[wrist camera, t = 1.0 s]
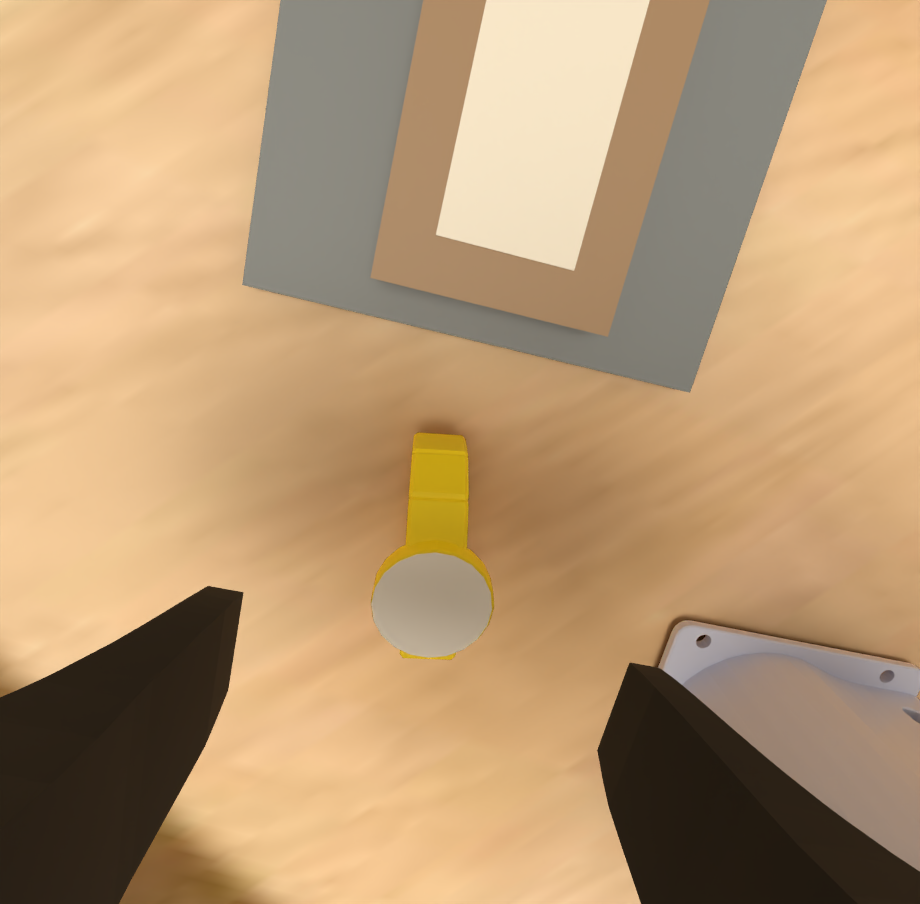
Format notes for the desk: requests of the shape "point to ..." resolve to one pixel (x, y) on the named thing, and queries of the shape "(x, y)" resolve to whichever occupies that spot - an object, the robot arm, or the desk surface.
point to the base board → (525, 166)
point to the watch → (434, 560)
